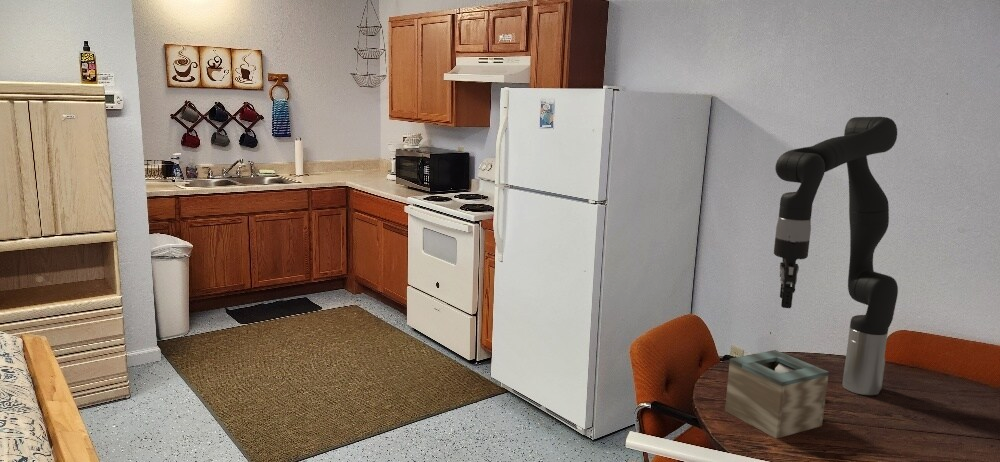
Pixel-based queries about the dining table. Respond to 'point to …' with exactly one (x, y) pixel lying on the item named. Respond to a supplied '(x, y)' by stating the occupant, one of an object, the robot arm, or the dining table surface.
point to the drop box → (776, 393)
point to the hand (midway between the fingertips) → (785, 302)
